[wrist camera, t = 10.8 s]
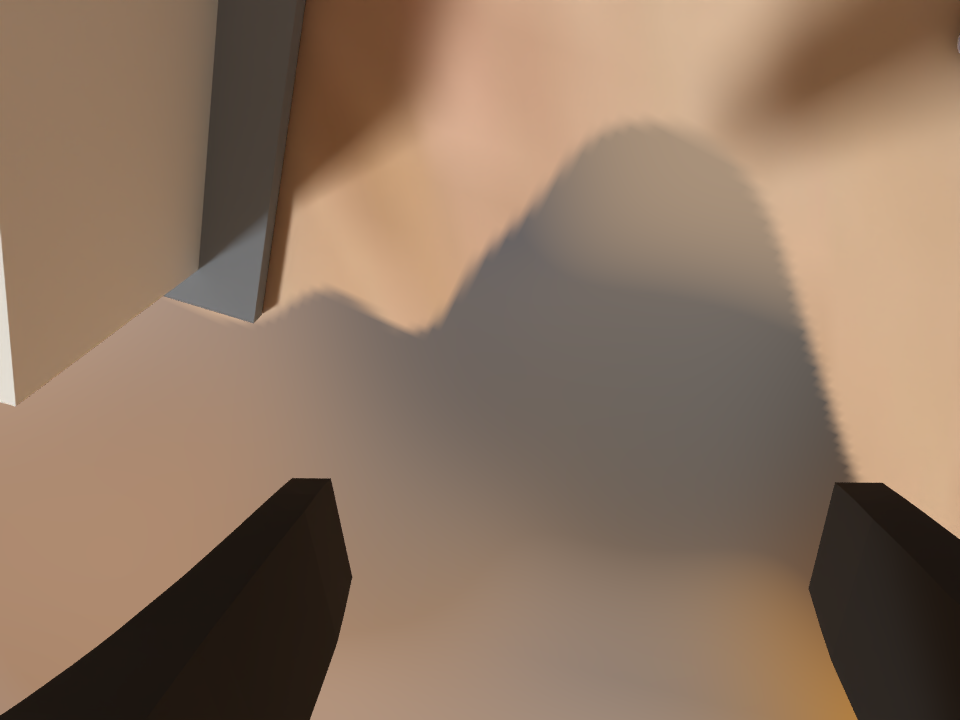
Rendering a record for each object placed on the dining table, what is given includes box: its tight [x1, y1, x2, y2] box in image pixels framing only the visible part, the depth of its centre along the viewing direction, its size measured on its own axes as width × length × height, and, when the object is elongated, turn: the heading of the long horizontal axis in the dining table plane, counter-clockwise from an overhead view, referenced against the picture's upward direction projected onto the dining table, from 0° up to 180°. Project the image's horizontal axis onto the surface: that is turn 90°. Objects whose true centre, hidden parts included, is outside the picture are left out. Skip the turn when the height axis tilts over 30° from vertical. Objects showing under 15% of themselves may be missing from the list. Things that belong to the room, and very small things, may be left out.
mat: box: [164, 0, 306, 323], centre depth 16 cm, size 6×11×1 cm, turn 163°
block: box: [0, 0, 218, 406], centre depth 12 cm, size 2×9×7 cm, turn 164°
